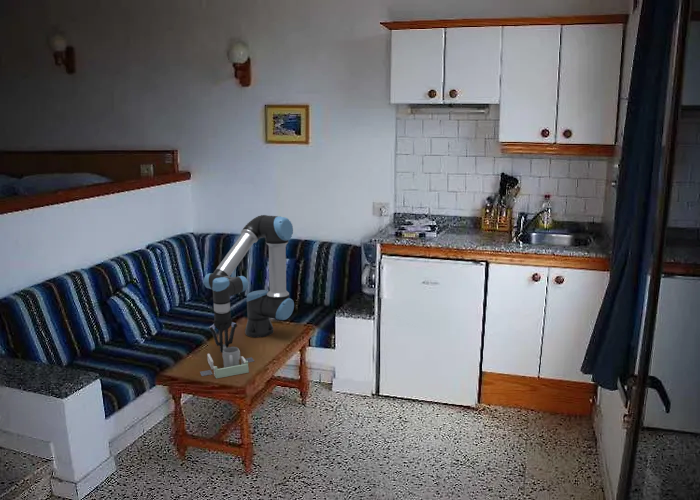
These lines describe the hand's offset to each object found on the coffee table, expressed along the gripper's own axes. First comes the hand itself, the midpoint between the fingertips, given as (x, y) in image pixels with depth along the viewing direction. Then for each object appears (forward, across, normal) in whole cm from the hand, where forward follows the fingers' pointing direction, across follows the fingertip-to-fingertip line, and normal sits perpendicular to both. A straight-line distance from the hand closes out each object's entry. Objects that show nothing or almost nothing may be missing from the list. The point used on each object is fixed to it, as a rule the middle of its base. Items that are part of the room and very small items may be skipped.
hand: (224, 358), depth 279 cm
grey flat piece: (+3, -1, +3) cm, 4 cm away
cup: (+3, -2, +6) cm, 7 cm away
